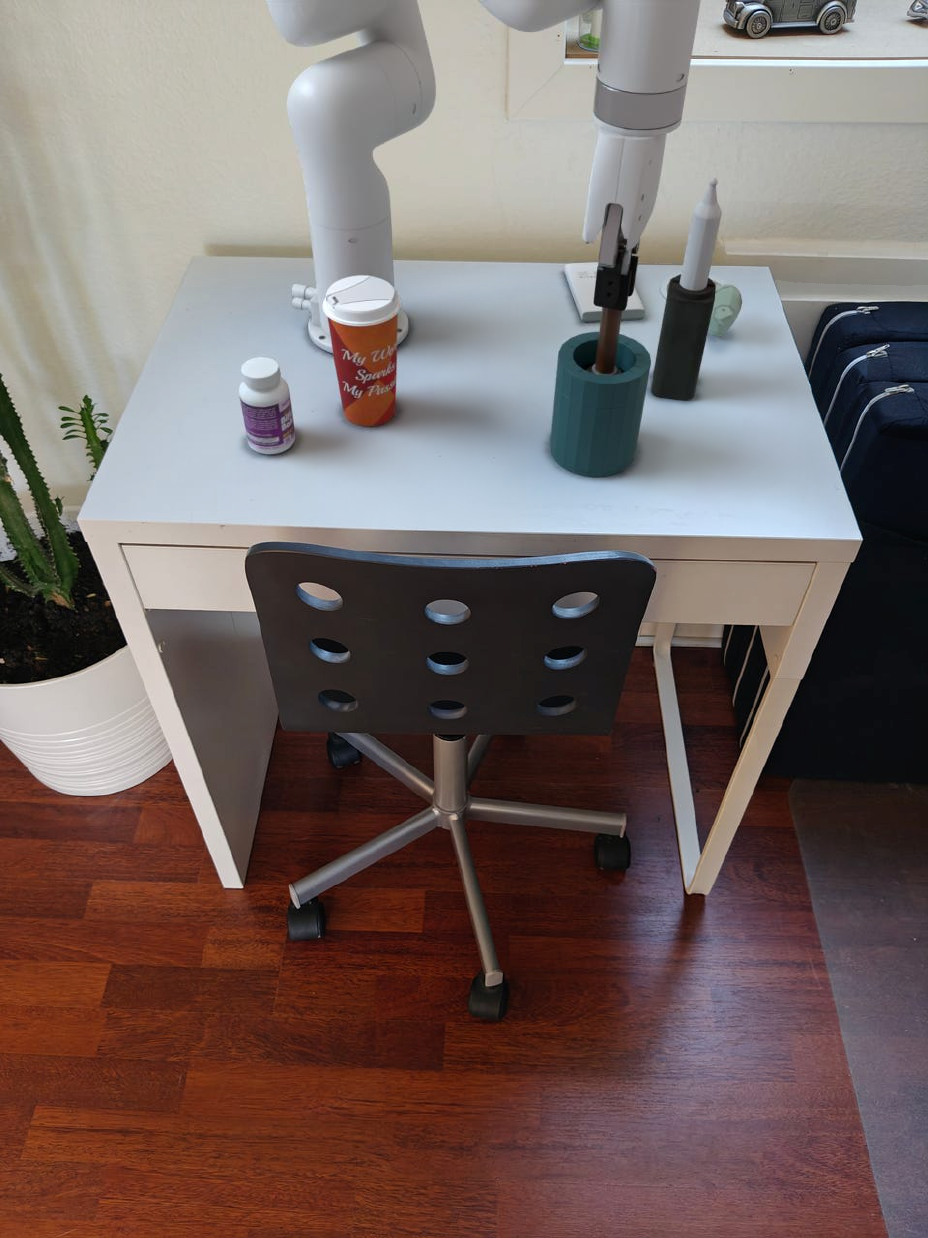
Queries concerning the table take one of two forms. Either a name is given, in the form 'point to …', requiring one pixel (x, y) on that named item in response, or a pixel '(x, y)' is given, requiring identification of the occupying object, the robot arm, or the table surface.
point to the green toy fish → (724, 309)
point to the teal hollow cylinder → (598, 407)
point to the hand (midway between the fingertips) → (613, 298)
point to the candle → (688, 307)
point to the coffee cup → (364, 346)
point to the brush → (608, 341)
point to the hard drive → (583, 292)
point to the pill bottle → (266, 406)
